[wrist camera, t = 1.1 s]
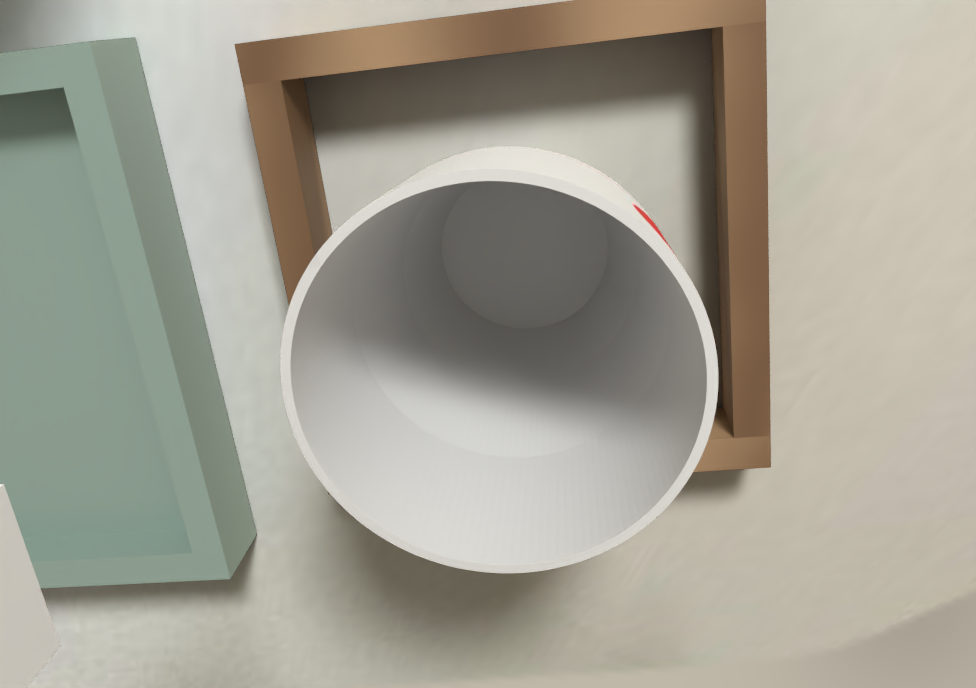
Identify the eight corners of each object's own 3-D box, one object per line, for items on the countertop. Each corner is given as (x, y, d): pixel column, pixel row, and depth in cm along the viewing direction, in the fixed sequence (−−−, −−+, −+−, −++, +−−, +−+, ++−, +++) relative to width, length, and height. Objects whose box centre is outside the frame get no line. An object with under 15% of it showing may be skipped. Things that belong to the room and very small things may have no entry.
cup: (644, 390, 27) (682, 595, 18) (380, 364, 27) (282, 550, 18) (684, 117, 24) (755, 191, 15) (388, 92, 25) (276, 149, 15)
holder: (344, 462, 29) (328, 494, 27) (260, 40, 24) (234, 43, 22) (757, 435, 27) (770, 467, 25) (749, -22, 23) (765, -25, 21)
